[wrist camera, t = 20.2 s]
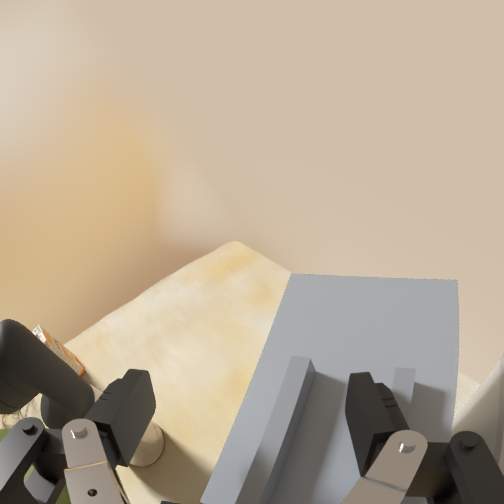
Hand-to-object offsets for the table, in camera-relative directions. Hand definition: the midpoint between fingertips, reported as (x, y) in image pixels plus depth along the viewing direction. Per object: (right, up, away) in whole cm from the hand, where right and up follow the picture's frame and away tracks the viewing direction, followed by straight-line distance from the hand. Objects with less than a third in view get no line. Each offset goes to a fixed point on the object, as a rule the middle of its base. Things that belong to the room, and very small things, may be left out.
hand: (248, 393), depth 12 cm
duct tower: (+15, -23, +22) cm, 35 cm away
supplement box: (-42, -22, +52) cm, 71 cm away
